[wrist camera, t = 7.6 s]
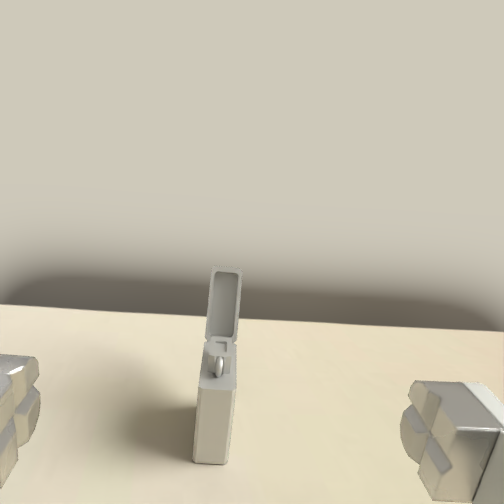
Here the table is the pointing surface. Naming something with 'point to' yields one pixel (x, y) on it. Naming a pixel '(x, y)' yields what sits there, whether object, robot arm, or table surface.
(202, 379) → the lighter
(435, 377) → the table surface
